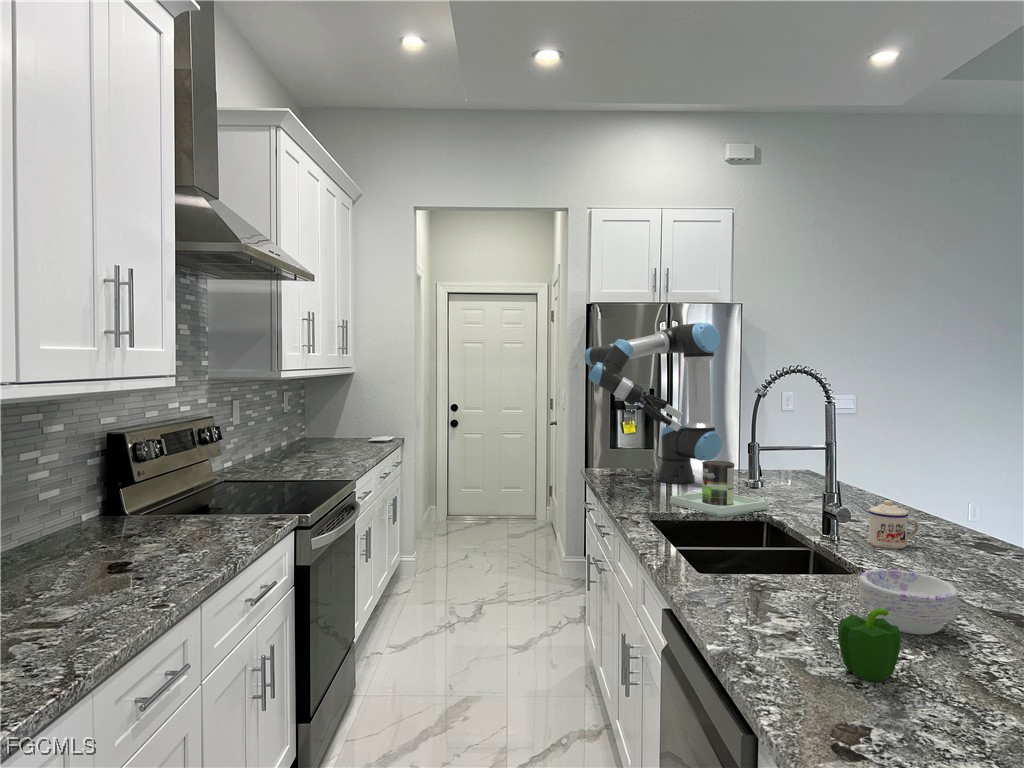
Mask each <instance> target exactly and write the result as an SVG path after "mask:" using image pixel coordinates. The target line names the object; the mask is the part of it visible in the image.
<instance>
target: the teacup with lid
mask: <svg viewBox="0 0 1024 768" xmlns="http://www.w3.org/2000/svg"><path fill="white" fill-rule="evenodd" d="M893 503H894V502H893V501H892V500H888V499H886V500H884V501H883V503H880V504H878V505H877V506H871V507H870V508H869V509H868V514H869V515H868V517H869V519H868V521H869V522H868V524H869V525H868V527H869V528H868V543H869V544H870V545H872V546H874V547H879V548H884V549H891V550H892V549H893V550H894V549H895V550H899V549H905V548H906V547H907V545H908V542H907V541H908V540H907V539H908V538H912V537H915V536H916V535H917V534H918V533H919V531H920V523H919V521H918V520H916V519H915V518H912V517H909V513H908V511H907V510H904V509H902V508H900V507H898V506H897V505H896V504H893ZM908 522H912V523H914V524H915V528H914V530H913V531H912V532H910V533H908Z"/></svg>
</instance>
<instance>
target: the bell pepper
mask: <svg viewBox="0 0 1024 768" xmlns="http://www.w3.org/2000/svg"><path fill="white" fill-rule="evenodd" d="M888 613H889V612H888V611H887V610H886V609H882V608H880V609H874V610H873V611H869V613H868V616H867V618H866V619H865V618H862V617H861V616H859V615H858V614H857V615H856V614H852V613H851V614H850V615H848V616H847V617H845V618H843V619H842V618H841V620H840V622H839V624H838V625H837V640H838V644H839V650H840V653H841V658H842V663H843V664H844V666H845V668H846V670H848V671H849V672H850V673H854V675H855V676H857V677H858V678H859V679H861V680H863V681H868V682H874V683H875V682H877V683H878V682H879V683H882V682H884V681H885V680H887V679H888V678H890V677H891V676H892V675H893V673H894V671H895V668H896V665H897V662H898V659H899V656H900V655H899V654H900V650H901V647H902V645H901V644H902V642H901V641H902V632H900V631H899V628H898V626H894V625H891V624H889V623H888V622H887V621H886V620H885V619H883V618H876V616H878V615H884V616H887V615H888Z"/></svg>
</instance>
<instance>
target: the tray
mask: <svg viewBox="0 0 1024 768" xmlns="http://www.w3.org/2000/svg"><path fill="white" fill-rule="evenodd" d="M669 499H670V500H669V505H670V504H672V505H671V506H673V505H676V506H681V507H686V508H690V509H695V510H698V511H702V512H703V513H702V514H705V515H709V516H712V517H716V518H717V517H718V518H727V517H735V516H740V515H746V514H747V515H748V514H750V513H749V512H753V513H755V512H754V511H760V512H762V511H761V510H766V511H768V503H769V502H768V501H767V500H763V499H759V498H753V497H748V496H744V495H739V494H735V493H734V495H733V505H732V506H725V507H718V506H713V505H709V504H705V503H702V491H700V492H694V493H686V494H685V493H684V494H675V495H670V498H669ZM676 506H675V507H676Z"/></svg>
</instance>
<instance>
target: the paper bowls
mask: <svg viewBox="0 0 1024 768" xmlns="http://www.w3.org/2000/svg"><path fill="white" fill-rule="evenodd" d="M858 584H859V591H858V594H859V596H858V599H859V600H858V601H859V604H860V605H861V606H862V607H863V608H864V609H866V610H867V611H869V612H871V611H873V610H874V609H880V608H882V609H886V610H887V611H888V612H889V613H888V615H887V616H884V615H878V616H876V618H883V619H885V620H886V621H887V622H888V623H889V624H891V625H894V626H898V628H899V631H900V633H905V634H910V635H925V636H926V635H933V634H936V633H938V632H940V630H942V628H943V627H944V625H946V624H950V623H953V622H955V621H956V620H957V619H958V616H959V614H958V613H959V591H958V589H957V588H956V587H955V586H954V585H952V584H951V583H949V582H948V581H946V580H943V579H940V578H938V577H934V576H931V575H927V574H923V573H920V572H919V573H918V572H914V571H908V570H907V571H906V570H901V569H900V570H898V569H873V570H872V569H870V570H867V571H864V572H862V573H861V574H860V576H859V583H858Z"/></svg>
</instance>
